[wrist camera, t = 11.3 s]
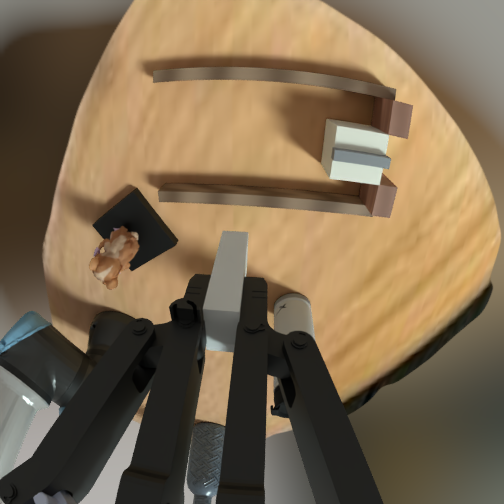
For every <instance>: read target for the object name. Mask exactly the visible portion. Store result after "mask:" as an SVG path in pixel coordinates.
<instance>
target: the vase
mask: <svg viewBox="0 0 504 504" xmlns="http://www.w3.org/2000/svg"><path fill="white" fill-rule="evenodd" d="M224 435H225V427H224V426H221V425H218V424H213V423H198V424H196V425H194V427H193V432H192V439H191V447H190V455H189V463H188V471H187V485H188V488H189V489H190V491H191V492H192V493H193V494H194V500H193V504H211V499H212V497H213V496H215V495H217V490H218V485H219V480H220V471H221V462H222V453H223V444H224Z"/></svg>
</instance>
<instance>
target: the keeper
mask: <svg viewBox="0 0 504 504" xmlns="http://www.w3.org/2000/svg"><path fill="white" fill-rule="evenodd" d="M388 139H389V135H388V134H386V133H384V132H382V131H380V130H379V129H377V128H375V127H373V126H369V125H364V124H358V123H353V122H347V121H340V120H334V119H326V127H325V136H324V144H323V152H322V160H321V165H322V166H323V168H324V170H325V171H326V173H327V175H328V177H329V178H330V179H336V180H344V181H352V182H360V183H367V184H374V185H380V181H381V176H382V171H383V168H385V169H389V166H390V161H391V158H389V157H388V156H386V150H387V145H388Z"/></svg>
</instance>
